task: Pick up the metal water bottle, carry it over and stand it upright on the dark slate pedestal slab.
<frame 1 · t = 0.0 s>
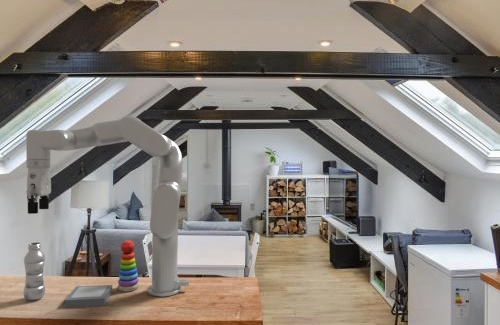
hand: (38, 211, 136), 31 cm above the table, tool pointing down, fingers open, 9 cm apart
metal water bottle: (34, 299, 134), on the table
slate pedestal: (89, 298, 134), on the table
stacking toy: (128, 289, 145), on the table
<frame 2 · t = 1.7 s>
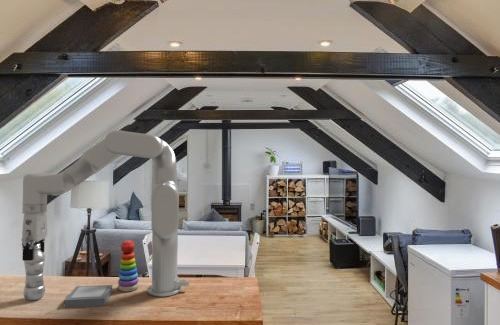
hand: (33, 256, 133), 16 cm above the table, tool pointing down, fingers open, 9 cm apart
nothing on the table moved.
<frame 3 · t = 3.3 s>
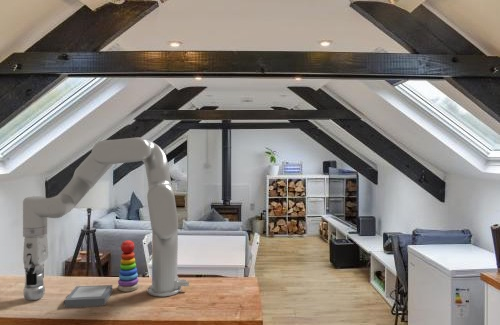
hand: (35, 281, 133), 7 cm above the table, tool pointing down, fingers closed on metal water bottle, 5 cm apart
metal water bottle: (34, 299, 134), on the table, touching gripper
everything else where it was.
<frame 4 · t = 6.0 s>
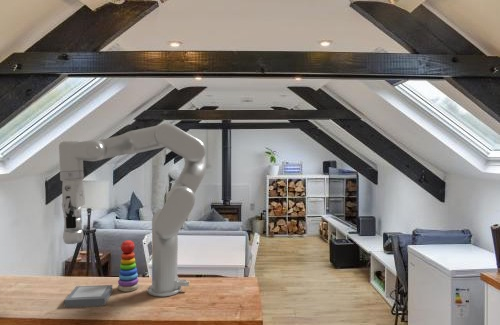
hand: (74, 225, 134), 27 cm above the table, tool pointing down, fingers closed on metal water bottle, 5 cm apart
metal water bottle: (73, 244, 134), point 20 cm above the table, touching gripper
everything else where it was.
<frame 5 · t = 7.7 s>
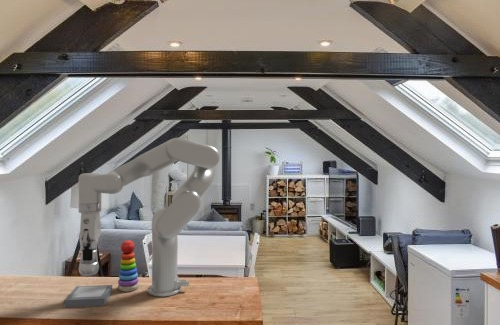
hand: (90, 257, 134), 15 cm above the table, tool pointing down, fingers closed on metal water bottle, 5 cm apart
metal water bottle: (89, 275, 134), point 9 cm above the table, touching gripper
everything else where it was.
when the fingers open (10 cm above the table, at t = 8.9 s): metal water bottle drops 1 cm, resting on slate pedestal.
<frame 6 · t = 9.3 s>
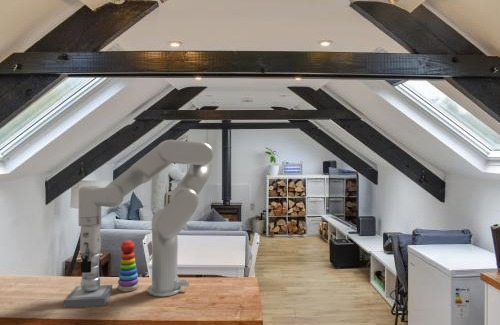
hand: (89, 268, 134), 11 cm above the table, tool pointing down, fingers open, 9 cm apart
metal water bottle: (90, 290, 136), point 2 cm above the table, touching gripper, slate pedestal
everything else where it was.
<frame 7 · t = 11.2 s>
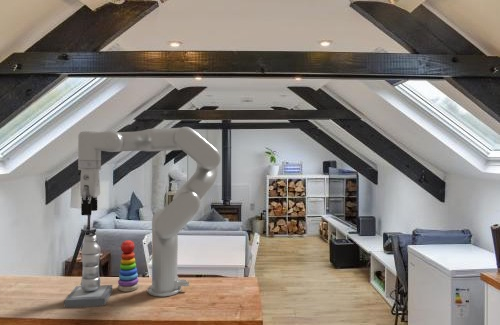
hand: (89, 212, 135), 31 cm above the table, tool pointing down, fingers open, 9 cm apart
metal water bottle: (90, 290, 136), point 2 cm above the table, touching slate pedestal
everything else where it was.
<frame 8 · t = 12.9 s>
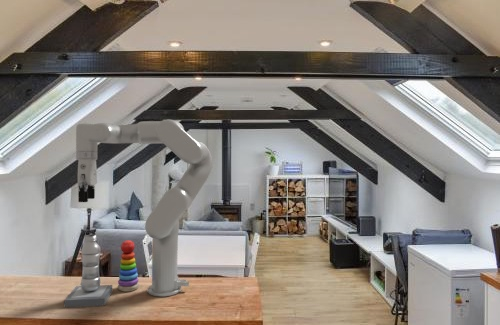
hand: (86, 200, 144), 34 cm above the table, tool pointing down, fingers open, 9 cm apart
nothing on the table moved.
at the end: metal water bottle inside the target area on the slate pedestal (1.3 cm from its centre), point 2.5 cm above the slate pedestal's base; metal water bottle tilted 0°; the gripper is holding nothing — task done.
